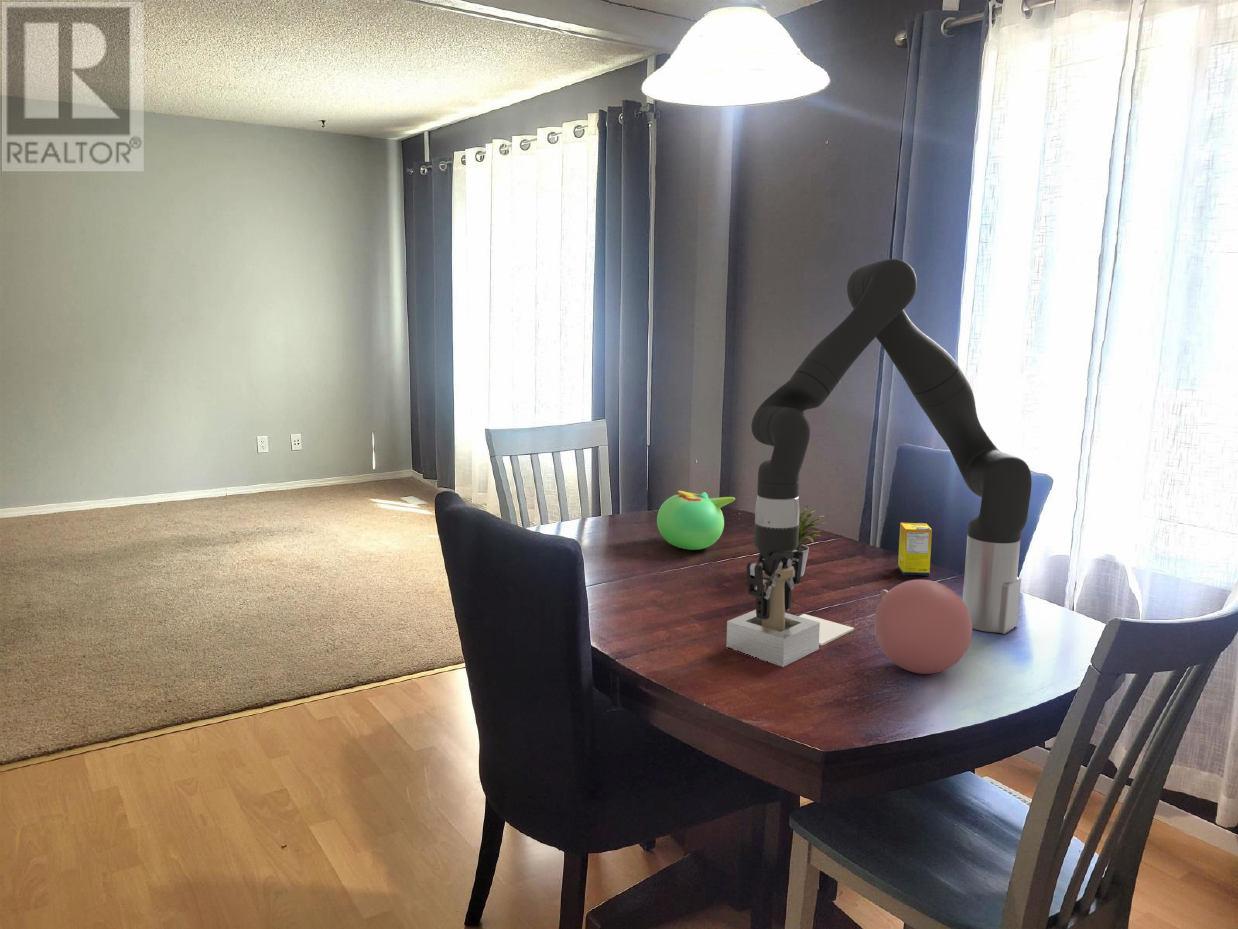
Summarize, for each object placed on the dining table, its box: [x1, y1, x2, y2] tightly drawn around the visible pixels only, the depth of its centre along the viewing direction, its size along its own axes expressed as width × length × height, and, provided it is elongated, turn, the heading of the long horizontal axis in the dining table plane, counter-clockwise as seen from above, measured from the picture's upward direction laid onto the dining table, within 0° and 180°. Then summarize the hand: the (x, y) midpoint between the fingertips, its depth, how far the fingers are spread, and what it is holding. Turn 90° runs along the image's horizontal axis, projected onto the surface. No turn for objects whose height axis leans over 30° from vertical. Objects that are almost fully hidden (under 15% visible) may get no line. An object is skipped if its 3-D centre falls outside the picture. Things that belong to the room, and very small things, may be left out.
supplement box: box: [897, 522, 933, 577], centre depth 203 cm, size 6×6×11 cm
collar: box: [726, 609, 820, 668], centre depth 158 cm, size 12×11×5 cm
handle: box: [762, 566, 794, 632], centre depth 157 cm, size 5×6×15 cm
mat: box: [798, 613, 855, 646], centre depth 168 cm, size 11×11×1 cm
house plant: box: [794, 505, 830, 577], centre depth 200 cm, size 14×14×16 cm
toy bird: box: [656, 490, 736, 551], centre depth 223 cm, size 18×17×15 cm
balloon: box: [873, 579, 973, 675], centre depth 151 cm, size 15×20×15 cm
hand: (773, 613), depth 158 cm, fingers open, 6 cm apart
